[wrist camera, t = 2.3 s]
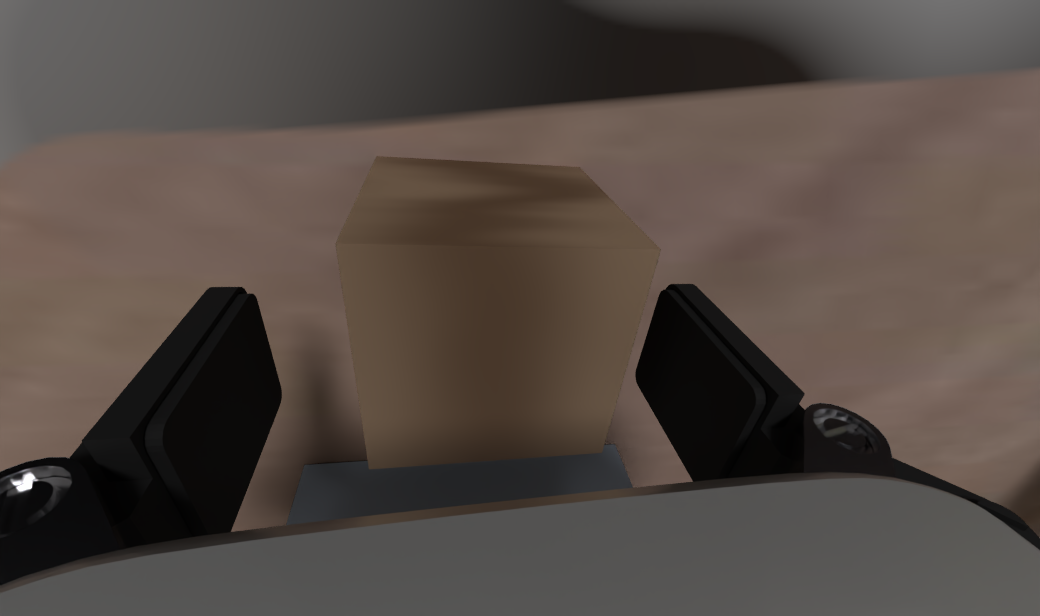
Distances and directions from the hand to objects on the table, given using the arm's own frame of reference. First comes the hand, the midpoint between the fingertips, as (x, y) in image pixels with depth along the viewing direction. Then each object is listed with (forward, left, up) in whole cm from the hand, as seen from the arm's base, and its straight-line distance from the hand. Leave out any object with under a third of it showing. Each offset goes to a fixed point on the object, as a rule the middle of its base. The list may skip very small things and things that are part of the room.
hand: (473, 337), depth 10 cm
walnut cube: (0, 0, -5) cm, 5 cm away
